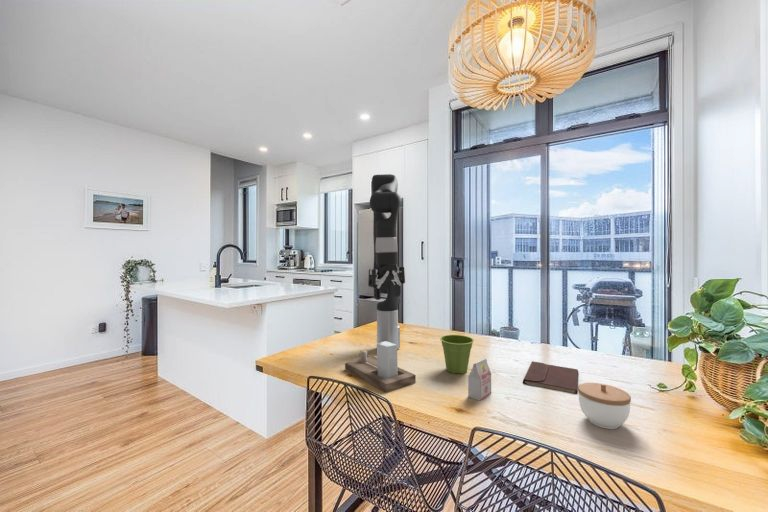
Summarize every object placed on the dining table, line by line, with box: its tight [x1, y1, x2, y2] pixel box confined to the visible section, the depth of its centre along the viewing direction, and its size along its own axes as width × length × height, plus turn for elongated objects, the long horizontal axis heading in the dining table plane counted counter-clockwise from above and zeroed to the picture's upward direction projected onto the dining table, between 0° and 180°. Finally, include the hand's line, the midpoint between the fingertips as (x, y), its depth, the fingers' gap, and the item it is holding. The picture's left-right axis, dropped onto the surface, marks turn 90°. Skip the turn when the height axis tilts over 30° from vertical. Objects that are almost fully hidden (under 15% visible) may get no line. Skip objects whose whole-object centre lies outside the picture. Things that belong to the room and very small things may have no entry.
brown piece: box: [344, 350, 417, 393], centre depth 110 cm, size 12×24×6 cm, turn 37°
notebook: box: [522, 361, 579, 395], centre depth 108 cm, size 15×20×2 cm
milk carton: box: [467, 358, 492, 401], centre depth 95 cm, size 4×7×10 cm, turn 135°
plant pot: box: [439, 334, 475, 374], centre depth 115 cm, size 12×12×11 cm
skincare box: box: [376, 341, 399, 379], centre depth 106 cm, size 6×4×12 cm
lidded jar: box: [577, 382, 632, 430], centre depth 79 cm, size 11×11×9 cm
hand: (387, 297), depth 111 cm, fingers open, 8 cm apart
